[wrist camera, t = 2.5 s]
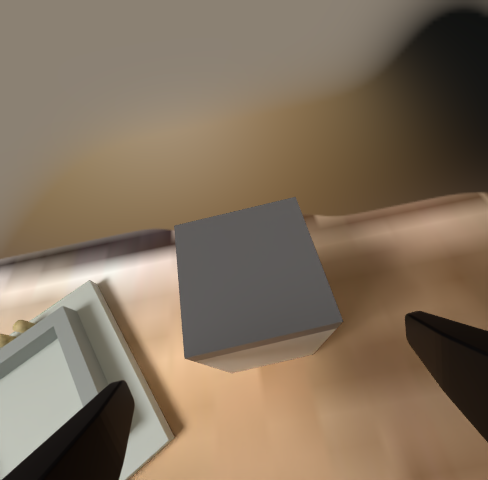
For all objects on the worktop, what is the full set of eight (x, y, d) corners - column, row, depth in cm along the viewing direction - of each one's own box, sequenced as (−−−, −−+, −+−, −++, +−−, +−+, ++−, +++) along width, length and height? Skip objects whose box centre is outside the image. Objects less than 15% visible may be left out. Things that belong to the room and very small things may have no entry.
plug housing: (312, 354, 18) (343, 321, 9) (232, 373, 18) (184, 358, 9) (289, 278, 20) (295, 197, 12) (219, 295, 20) (174, 225, 12)
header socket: (174, 437, 16) (158, 445, 14) (-41, 631, 13) (-103, 678, 11) (97, 284, 22) (76, 273, 20) (-65, 396, 19) (-109, 397, 17)
